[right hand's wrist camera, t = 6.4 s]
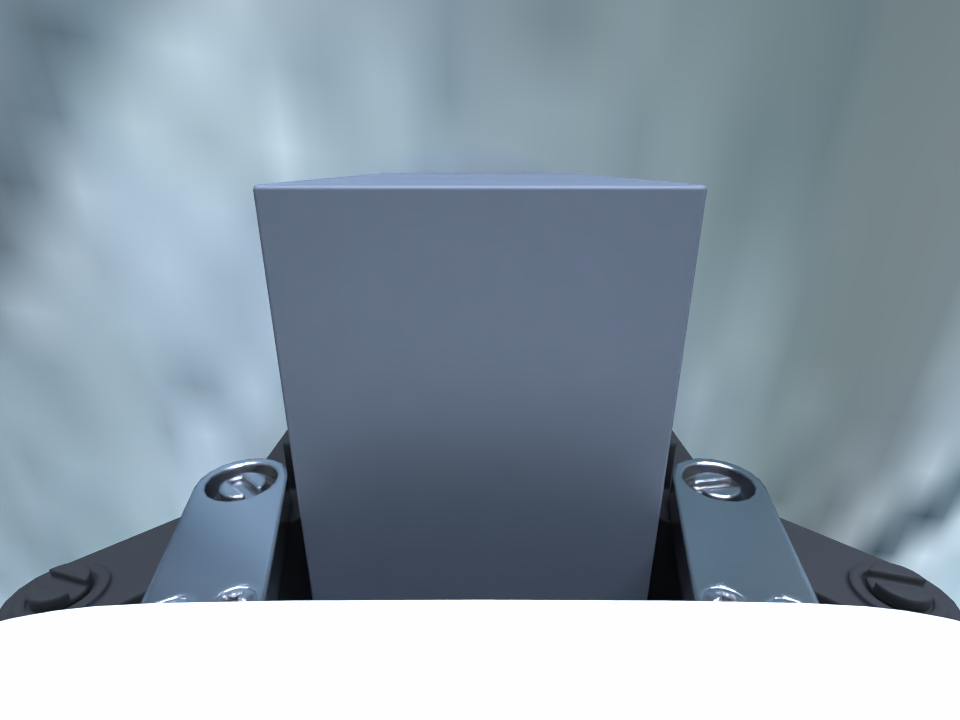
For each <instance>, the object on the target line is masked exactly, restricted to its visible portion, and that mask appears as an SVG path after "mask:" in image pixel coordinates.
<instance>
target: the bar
mask: <svg viewBox="0 0 960 720" xmlns="http://www.w3.org/2000/svg"><path fill="white" fill-rule="evenodd" d="M253 192H254V198H255V205H256V212H257V219H258V226H259V233H260V240H261V247H262V254H263V261H264V268H265V275H266V281H267V288H268V295H269V302H270V309H271V316H272V323H273V330H274V337H275V344H276V351H277V358H278V364H279V371H280V378H281V385H282V392H283V399H284V406H285V413H286V420H287V427H288V434H289V441H290V448H291V454H292V461H293V468H294V475H295V482H296V489H297V496H298V503H299V510H300V517H301V524H302V531H303V537H304V544H305V551H306V558H307V565H308V572H309V579H310V586H311V593H312V600H313V601H346V600H614V601H647V597H648V591H649V584H650V577H651V570H652V563H653V556H654V549H655V543H656V536H657V529H658V522H659V515H660V508H661V501H662V494H663V488H664V481H665V474H666V467H667V460H668V453H669V446H670V440H671V433H672V426H673V419H674V412H675V405H676V398H677V392H678V385H679V378H680V371H681V364H682V357H683V350H684V343H685V337H686V330H687V323H688V316H689V309H690V302H691V295H692V289H693V282H694V275H695V268H696V261H697V254H698V247H699V241H700V234H701V227H702V220H703V213H704V206H705V199H706V192H707V189H706V186H704V185H698V184H687V183H676V182H665V181H653V180H642V179H631V178H620V177H609V176H597V175H586V174H575V173H382V174H371V175H360V176H348V177H337V178H326V179H315V180H304V181H293V182H282V183H271V184H260V185H256V186H254V189H253Z"/></svg>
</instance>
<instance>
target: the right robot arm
mask: <svg viewBox="0 0 960 720" xmlns="http://www.w3.org/2000/svg"><path fill="white" fill-rule="evenodd" d="M49 571H50V572H47V573H45V574H43V575H41V576H39V577H37V578H35V579H34V580H32V581H31V582H29V583H28V584H26V585H25V586H23V587H22V588H20V589H19V590H18V591H17V592H15V593H14V594H13V595H12V596H11V597H10V598H9V599H8V600H7V601H6V602H5V603H4V604H3V606H2V607H1V609H0V720H960V610H959V609H958V607H957V606H956V604H955V603H954V601H953V600H952V599H950V598H949V597H948V596H947V595H946V594H945V593H944V592H943V591H942V590H941V589H939V588H938V587H936V586H935V585H933V584H932V583H930V582H929V581H927V580H926V579H924V578H923V577H921V576H920V575H919V574H917V573H915V572H913V571H911V570H909V569H907V568H905V567H902V566H899V565H896V564H892V563H889V562H887V561H884V560H882V559H879V558H877V557H874V556H872V555H870V554H867V553H865V552H862V551H860V550H857V549H855V548H853V547H850V546H848V545H845V544H843V543H840V542H838V541H835V540H833V539H831V538H828V537H826V536H823V535H821V534H818V533H816V532H814V531H811V530H809V529H806V528H804V527H801V526H799V525H797V524H794V523H792V522H789V521H787V520H784V519H782V518H779V516H778V513H777V511H776V509H775V507H774V505H773V503H772V501H771V498H770V496H769V494H768V492H767V490H766V488H765V486H764V485H763V483H762V482H761V481H760V479H758V478H757V477H756V476H754V475H753V474H752V473H750V472H749V471H747V470H745V469H743V468H741V467H739V466H736V465H733V464H730V463H727V462H724V461H718V460H713V459H693V458H692V457H691V456H690V454H689V453H688V452H687V450H686V449H685V447H684V446H683V445H682V443H681V442H680V441H679V439H678V438H677V436H676V435H675V434H674V432H673V431H672V433H671V440H670V446H669V453H668V460H667V467H666V474H665V481H664V488H663V494H662V501H661V508H660V515H659V522H658V529H657V536H656V543H655V549H654V556H653V563H652V570H651V577H650V584H649V591H648V597H647V601H614V600H346V601H313V600H312V593H311V586H310V579H309V572H308V565H307V558H306V551H305V544H304V537H303V531H302V524H301V517H300V510H299V503H298V496H297V489H296V482H295V475H294V468H293V461H292V454H291V448H290V441H289V434H288V430H287V431H286V433H285V434H284V435H283V437H282V438H281V440H280V441H279V442H278V444H277V445H276V446H275V448H274V449H273V451H272V452H271V453H270V455H269V456H268V457H267V459H247V460H242V461H236V462H233V463H230V464H227V465H224V466H221V467H219V468H217V469H215V470H213V471H211V472H210V473H208V474H207V475H206V476H204V477H203V478H202V479H200V481H199V482H198V483H197V485H196V486H195V488H194V490H193V492H192V494H191V496H190V498H189V501H188V503H187V505H186V507H185V509H184V511H183V513H182V516H181V517H180V518H177V519H175V520H173V521H170V522H168V523H165V524H163V525H160V526H158V527H156V528H153V529H151V530H148V531H146V532H143V533H141V534H139V535H136V536H134V537H131V538H129V539H126V540H124V541H122V542H119V543H117V544H114V545H112V546H109V547H107V548H105V549H102V550H100V551H97V552H95V553H92V554H90V555H87V556H85V557H83V558H80V559H78V560H75V561H73V562H70V563H68V564H64V565H60V566H57V567H55V568H52V569H50V570H49Z"/></svg>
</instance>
